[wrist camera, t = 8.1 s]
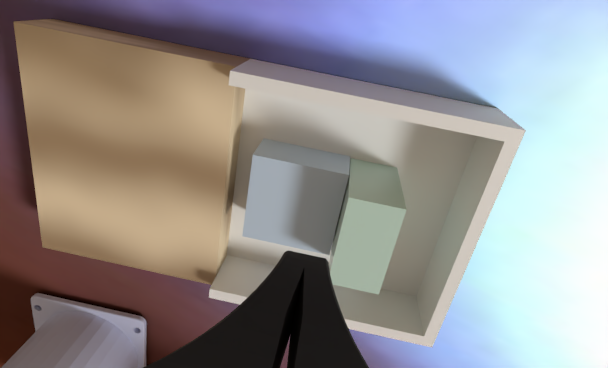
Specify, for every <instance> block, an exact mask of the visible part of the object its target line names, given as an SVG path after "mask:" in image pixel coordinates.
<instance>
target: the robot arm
mask: <svg viewBox="0 0 608 368" xmlns="http://www.w3.org/2000/svg"><path fill="white" fill-rule="evenodd" d="M31 306H32V313H33V319H34V326H35V333H34V334H33V335H32V336H31V337H30V338H29V339H28V340H27V341H26V342H25V343H24V344H23V345H22V346H21V347H20V349H19V350H18V351H17V352H16V353H15V354H14V355H13V356H12V357H11V358H10V359H9V360H8V361H7V362H6V363H5V364H4V365H3V366H2V367H1V368H280V366H281V362H282V359H283V356H284V353H285V350H286V346H287V343H288V340H289V337H290V344H289V354H288V363H287V368H369V367H368V365H367V364H366V362H365V360H364V359H363V357H362V355H361V353H360V351H359V349H358V348H357V346H356V344H355V342H354V340H353V338H352V336H351V333H350V331H349V329H348V327H347V324H346V322H345V320H344V317H343V315H342V312H341V309H340V306H339V303H338V300H337V298H336V295H335V291H334V288H333V284H332V280H331V276H330V271H329V262H328V261H327V259H326V258H321V257H317V256H312V255H307V254H303V253H298V252H293V251H289V250H288V251H286V252H284V254H283V255H282V257H281V259H280V260H279V262H278V263H277V265H276V266H275V267H274V269H273V270H272V271H271V273H270V274H269V275H268V276H267V277H266V278H265V280H264V281H263V282H262V283H261V284H260V285H259V286H258V287H257V289H256V290H255V291H254V292H253V293H252V294H251V295H250V296H249V297H248V298H247V299H245V300H244V301H243V302H242V303H241V304H240V305H239V306H238V307H237V308H236V309H235V310H234V311H232V312H231V313H230V314H229V315H228V316H226V317H225V318H224V319H223V320H221V321H220V322H219V323H217V324H216V325H215V326H213V327H212V328H211V329H209V330H208V331H206V332H205V333H204V334H202V335H201V336H199V337H198V338H196V339H195V340H193V341H191V342H190V343H188V344H186V345H185V346H183V347H181V348H179V349H178V350H176V351H174V352H173V353H171V354H169V355H167V356H166V357H164V358H162V359H160V360H158V361H156V362H154V363H152V364H149V365H147V366H146V320H145V319H144V318H143V317H141V316H138V315H134V314H129V313H125V312H120V311H116V310H112V309H107V308H103V307H98V306H94V305H90V304H85V303H81V302H76V301H72V300H67V299H63V298H59V297H54V296H50V295H45V294H41V293H36V294H35V295H33V296H32V297H31ZM138 328H139V329H138ZM290 334H291V335H290Z"/></svg>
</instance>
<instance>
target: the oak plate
mask: <svg viewBox="0 0 608 368" xmlns="http://www.w3.org/2000/svg"><path fill="white" fill-rule="evenodd" d="M14 30H15V38H16V46H17V53H18V61H19V69H20V77H21V84H22V92H23V100H24V107H25V115H26V123H27V131H28V138H29V146H30V154H31V162H32V169H33V177H34V185H35V193H36V200H37V208H38V216H39V224H40V231H41V239H42V247H44V248H48V249H53V250H57V251H62V252H66V253H71V254H75V255H80V256H84V257H89V258H93V259H98V260H102V261H107V262H111V263H116V264H120V265H125V266H129V267H134V268H138V269H143V270H147V271H152V272H156V273H161V274H165V275H170V276H174V277H179V278H183V279H188V280H192V281H197V282H201V283H206V284H210V285H212V283H213V281H214V279H215V277H216V276H217V274H218V272H219V270H220V268H221V266H222V264H223V262H224V260H225V258H226V256H227V250H228V241H229V232H230V223H231V214H232V205H233V196H234V187H235V178H236V169H237V160H238V151H239V142H240V133H241V124H242V115H243V106H244V97H245V89H244V88H240V87H235V86H230V85H229V75H230V70H232V69H234V68H235V67H237V66H239V65H240V64H242V63H244V62H246V61H247V60H249V59H250V58H245V57H240V56H235V55H230V54H225V53H220V52H215V51H210V50H205V49H200V48H195V47H190V46H185V45H180V44H175V43H170V42H165V41H160V40H155V39H150V38H145V37H140V36H136V35H131V34H126V33H121V32H116V31H111V30H106V29H101V28H96V27H91V26H86V25H81V24H76V23H71V22H66V21H61V20H56V19H42V20H28V21H15V22H14Z"/></svg>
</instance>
